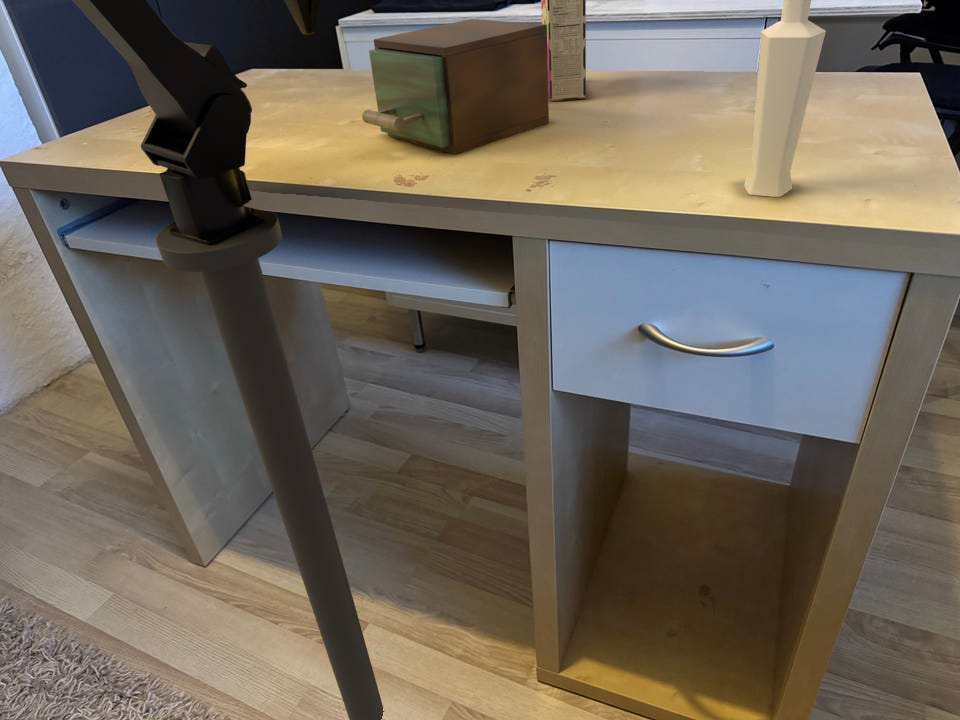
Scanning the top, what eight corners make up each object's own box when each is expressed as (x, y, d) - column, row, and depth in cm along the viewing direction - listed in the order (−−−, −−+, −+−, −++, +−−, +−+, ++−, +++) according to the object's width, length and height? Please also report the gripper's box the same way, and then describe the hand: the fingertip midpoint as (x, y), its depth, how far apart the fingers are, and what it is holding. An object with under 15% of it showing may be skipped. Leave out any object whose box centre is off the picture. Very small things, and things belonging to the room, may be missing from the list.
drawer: (413, 157, 71) (401, 66, 66) (353, 139, 78) (338, 56, 73) (531, 118, 80) (528, 36, 75) (467, 106, 87) (461, 30, 82)
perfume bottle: (752, 176, 61) (780, -13, 53) (801, 185, 59) (839, -13, 50) (727, 191, 59) (752, -5, 50) (778, 201, 56) (813, -4, 48)
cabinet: (455, 154, 73) (445, 47, 68) (387, 136, 82) (373, 39, 76) (549, 122, 81) (547, 24, 75) (478, 108, 89) (471, 18, 83)
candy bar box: (541, 84, 98) (538, -49, 89) (576, 81, 98) (576, -52, 89) (548, 102, 89) (545, -43, 80) (586, 99, 89) (588, -47, 80)
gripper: (313, -162, 67) (344, 13, 76) (122, -155, 58) (182, 45, 66) (378, -177, 60) (404, 18, 69) (171, -172, 51) (232, 55, 59)
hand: (308, 33), depth 66 cm, fingers closed
